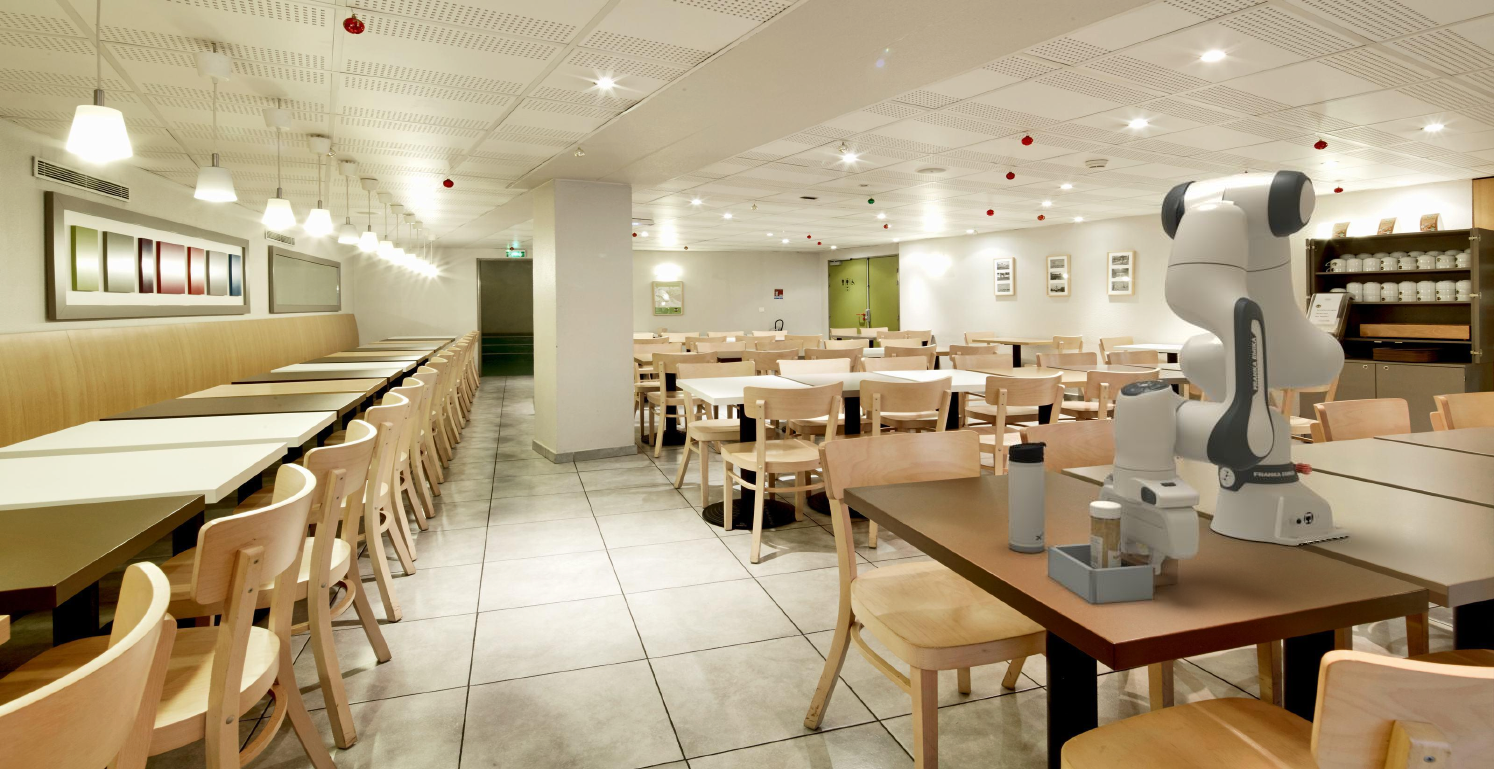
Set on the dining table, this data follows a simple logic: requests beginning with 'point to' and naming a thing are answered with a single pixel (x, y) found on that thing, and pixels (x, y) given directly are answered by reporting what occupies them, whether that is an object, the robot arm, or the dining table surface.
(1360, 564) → the dining table surface
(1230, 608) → the dining table surface
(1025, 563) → the dining table surface
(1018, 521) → the travel mug
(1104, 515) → the sprinkles bottle
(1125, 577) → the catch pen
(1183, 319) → the robot arm
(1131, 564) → the scraper
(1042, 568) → the dining table surface
